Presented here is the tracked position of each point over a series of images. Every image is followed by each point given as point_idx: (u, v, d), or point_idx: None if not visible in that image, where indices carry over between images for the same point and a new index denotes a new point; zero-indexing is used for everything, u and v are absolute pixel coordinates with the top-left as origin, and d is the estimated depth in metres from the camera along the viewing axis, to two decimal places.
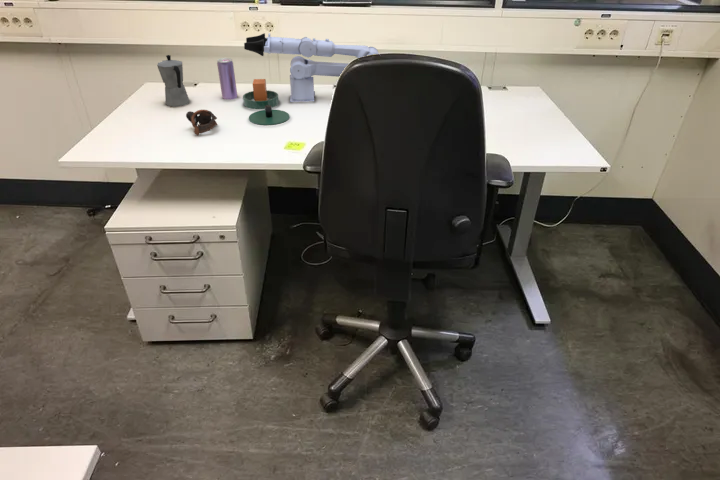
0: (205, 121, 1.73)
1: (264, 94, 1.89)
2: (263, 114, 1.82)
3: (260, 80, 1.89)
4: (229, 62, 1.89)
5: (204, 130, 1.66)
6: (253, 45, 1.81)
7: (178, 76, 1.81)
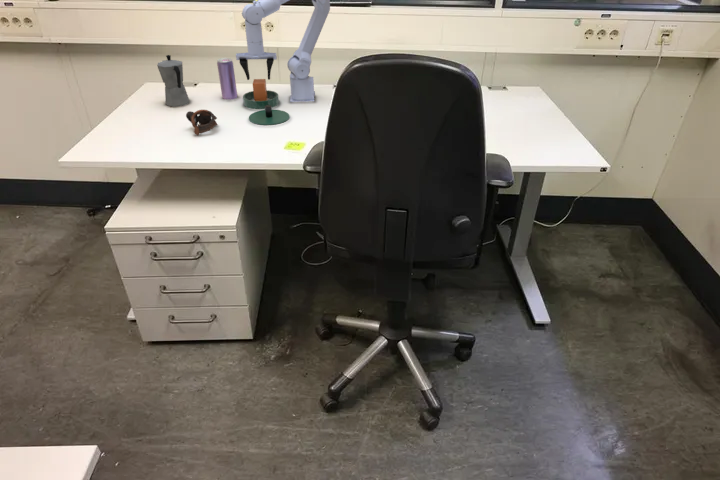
0: (205, 121, 1.73)
1: (264, 94, 1.89)
2: (263, 114, 1.82)
3: (260, 80, 1.89)
4: (229, 62, 1.89)
5: (204, 130, 1.66)
6: None
7: (178, 76, 1.81)
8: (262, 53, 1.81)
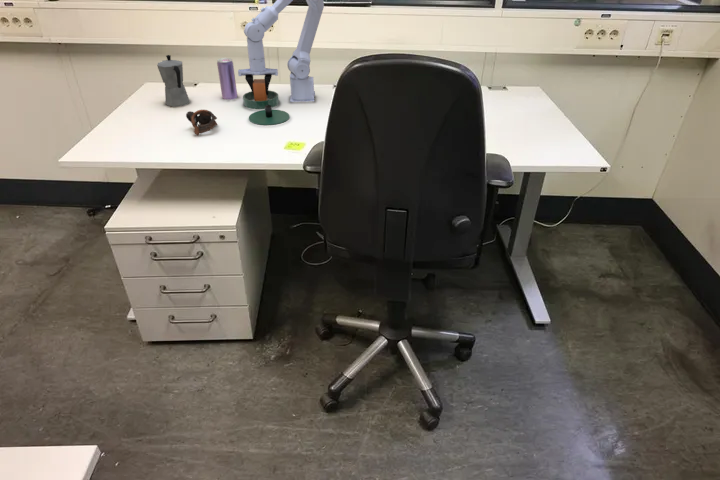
0: (205, 121, 1.73)
1: (264, 94, 1.89)
2: (263, 114, 1.82)
3: (260, 80, 1.89)
4: (229, 62, 1.89)
5: (204, 130, 1.66)
6: None
7: (178, 76, 1.81)
8: (264, 69, 1.85)
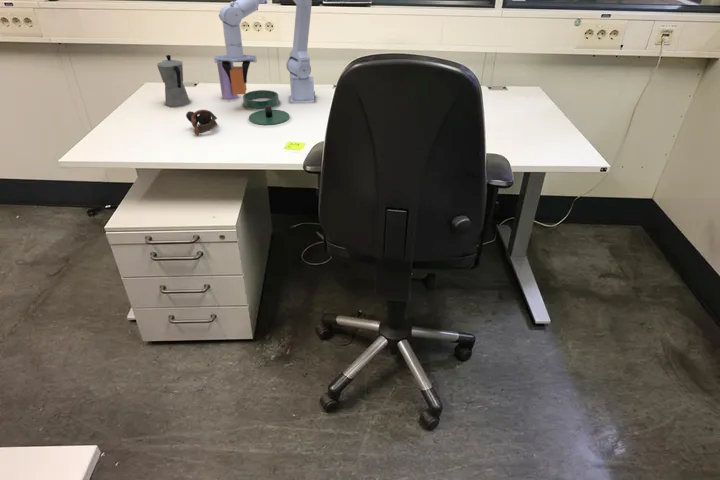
0: (205, 121, 1.73)
1: (242, 82, 1.79)
2: (263, 114, 1.82)
3: (238, 67, 1.80)
4: None
5: (204, 130, 1.66)
6: None
7: (178, 76, 1.81)
8: (241, 56, 1.76)
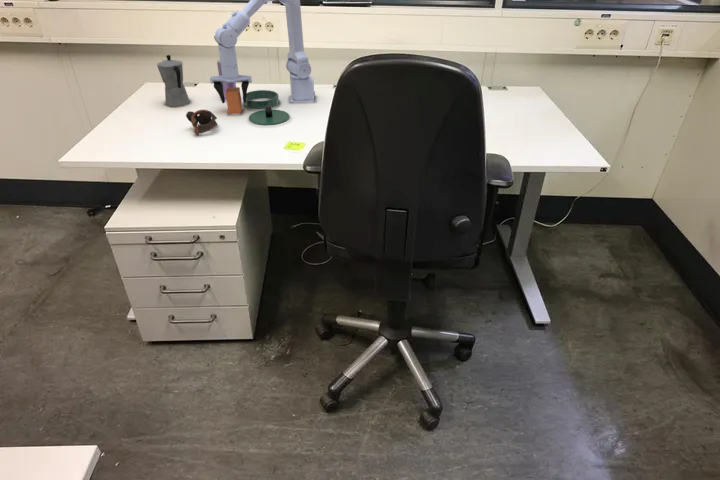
0: (205, 121, 1.73)
1: (238, 103, 1.82)
2: (263, 114, 1.82)
3: (234, 88, 1.82)
4: None
5: (204, 130, 1.66)
6: None
7: (178, 76, 1.81)
8: (237, 76, 1.78)
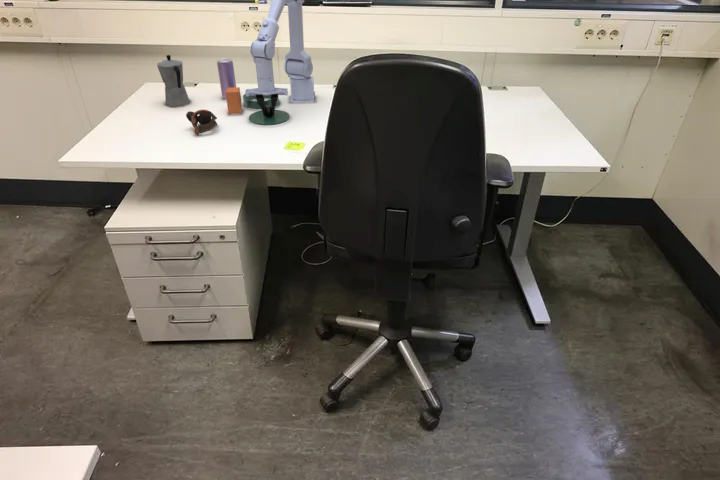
0: (205, 121, 1.73)
1: (238, 103, 1.82)
2: None
3: (234, 88, 1.82)
4: (229, 62, 1.89)
5: (204, 130, 1.66)
6: None
7: (178, 76, 1.81)
8: (273, 89, 1.73)
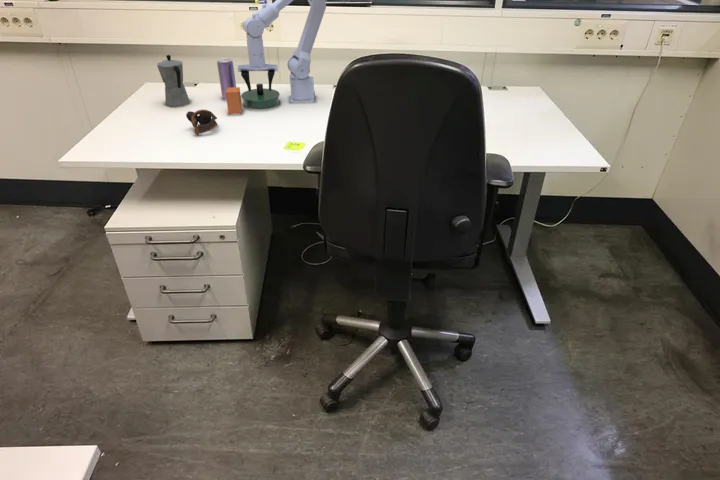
0: (205, 121, 1.73)
1: (238, 103, 1.82)
2: (255, 92, 1.93)
3: (234, 88, 1.82)
4: (229, 62, 1.89)
5: (204, 130, 1.66)
6: None
7: (178, 76, 1.81)
8: (263, 65, 1.84)
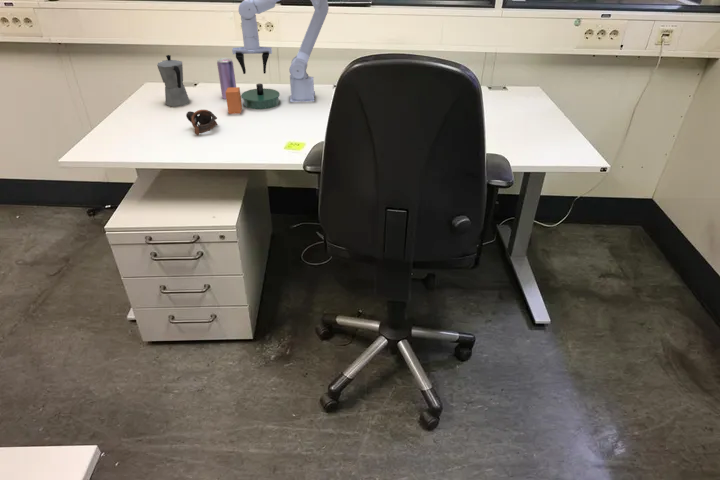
0: (205, 121, 1.73)
1: (238, 103, 1.82)
2: (255, 92, 1.93)
3: (234, 88, 1.82)
4: (229, 62, 1.89)
5: (204, 130, 1.66)
6: None
7: (178, 76, 1.81)
8: (258, 47, 1.86)
